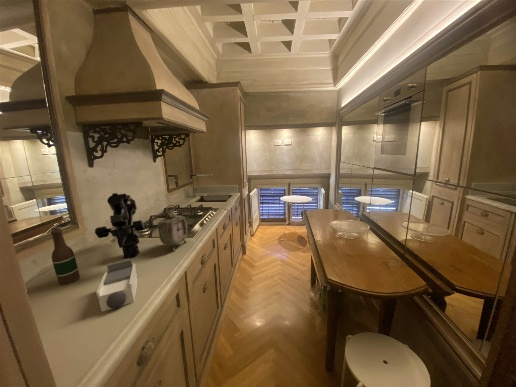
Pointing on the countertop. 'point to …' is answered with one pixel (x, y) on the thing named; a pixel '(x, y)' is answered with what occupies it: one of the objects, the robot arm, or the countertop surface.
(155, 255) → the countertop surface
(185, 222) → the tabletop clock
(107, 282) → the door
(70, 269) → the beer bottle
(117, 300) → the white open box
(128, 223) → the robot arm
